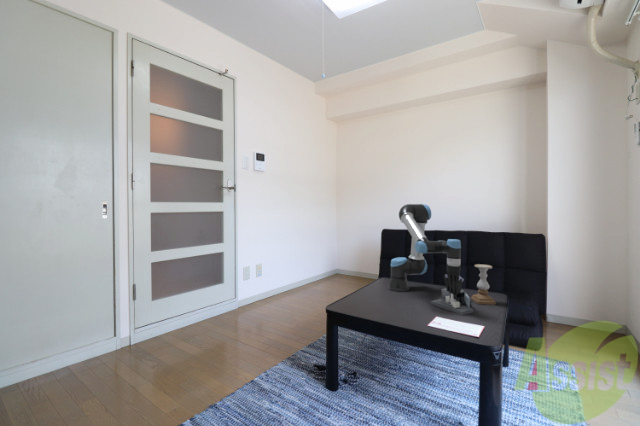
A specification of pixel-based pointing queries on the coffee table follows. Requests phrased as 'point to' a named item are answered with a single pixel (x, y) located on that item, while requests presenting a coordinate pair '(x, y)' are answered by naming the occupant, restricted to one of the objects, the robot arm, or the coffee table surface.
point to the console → (447, 305)
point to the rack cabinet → (459, 296)
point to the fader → (456, 304)
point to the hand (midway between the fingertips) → (453, 304)
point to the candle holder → (483, 287)
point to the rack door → (467, 300)
